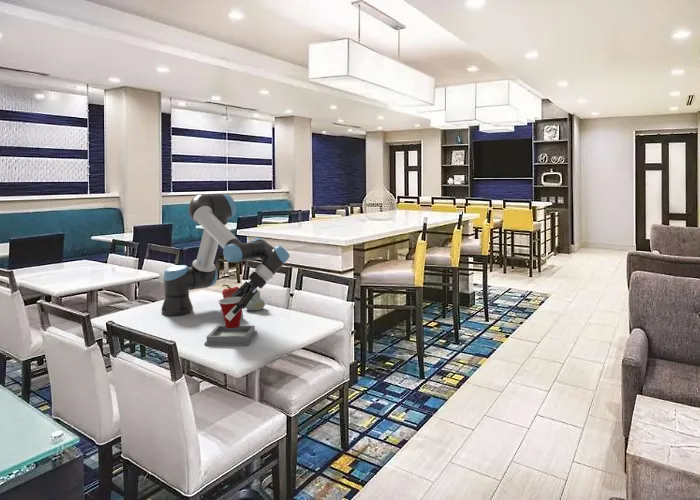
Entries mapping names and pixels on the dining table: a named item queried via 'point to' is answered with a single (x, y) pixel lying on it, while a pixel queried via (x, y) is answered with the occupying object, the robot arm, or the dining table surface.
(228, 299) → the plastic cup
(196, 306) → the dining table surface
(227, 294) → the vegetable
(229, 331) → the pocket tray
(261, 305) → the air freshener
